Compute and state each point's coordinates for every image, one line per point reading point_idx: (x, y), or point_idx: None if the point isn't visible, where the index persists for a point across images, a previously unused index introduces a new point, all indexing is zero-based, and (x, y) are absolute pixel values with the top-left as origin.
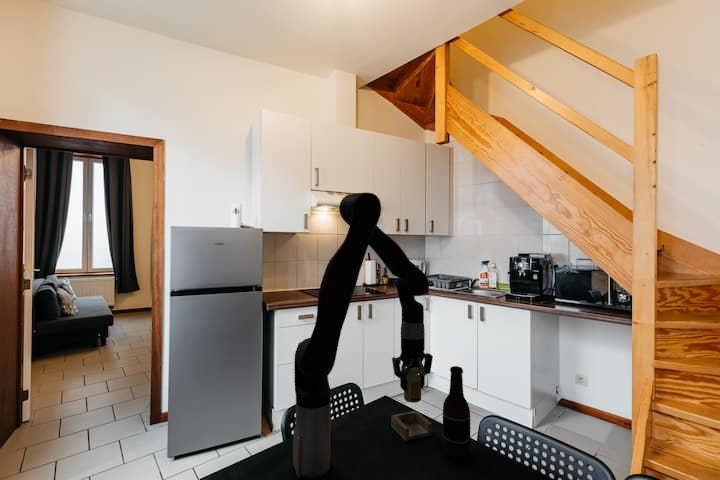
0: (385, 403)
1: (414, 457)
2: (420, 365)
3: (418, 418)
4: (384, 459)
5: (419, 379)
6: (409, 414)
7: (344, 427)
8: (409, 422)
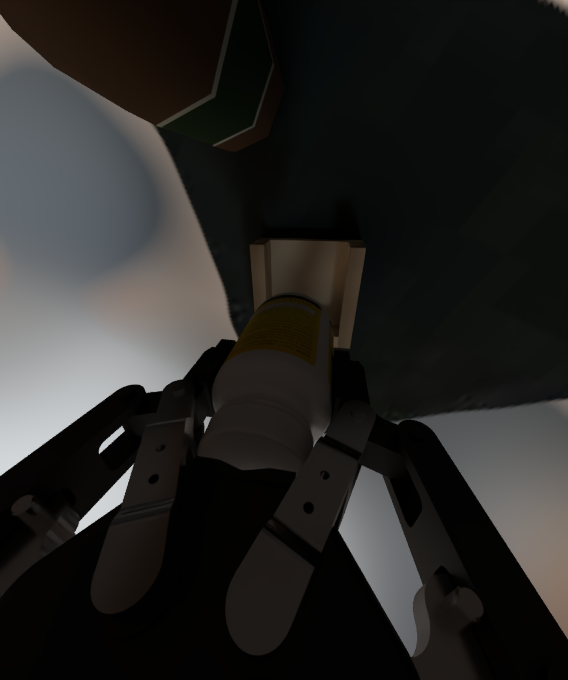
0: None
1: (406, 118)
2: (166, 466)
3: None
4: (521, 152)
5: (239, 360)
6: None
7: (476, 378)
8: None
